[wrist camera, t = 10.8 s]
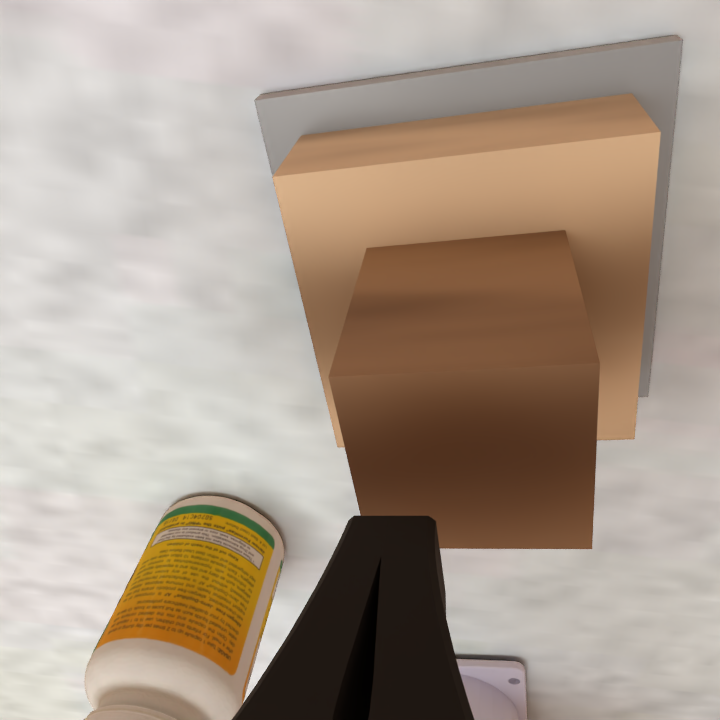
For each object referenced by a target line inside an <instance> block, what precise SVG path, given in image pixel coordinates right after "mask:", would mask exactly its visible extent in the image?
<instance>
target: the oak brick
mask: <svg viewBox="0 0 720 720" xmlns="http://www.w3.org/2000/svg"><path fill="white" fill-rule="evenodd" d="M660 136H661V131H660V130H659V129H658V127H657V126H656V125H655V123H654V122H653V121H652V119H651V118H650V117H649V115H648V114H647V113H646V111H645V110H644V109H643V107H642V106H641V105H640V103H639V102H638V101H637V99H636V98H635V97H634V95H633V94H632V93H629V94H621V95H614V96H606V97H598V98H590V99H582V100H575V101H567V102H559V103H551V104H543V105H535V106H528V107H520V108H512V109H504V110H496V111H489V112H481V113H473V114H465V115H457V116H450V117H442V118H434V119H426V120H418V121H411V122H403V123H395V124H387V125H379V126H371V127H364V128H356V129H348V130H340V131H332V132H325V133H317V134H309V135H301V136H300V138H299V139H298V140H297V142H296V143H295V145H294V146H293V148H292V149H291V151H290V152H289V154H288V155H287V156H286V158H285V159H284V161H283V162H282V164H281V165H280V167H279V168H278V169H277V171H276V172H275V174H274V175H273V181H274V186H275V190H276V194H277V198H278V202H279V206H280V210H281V215H282V219H283V223H284V227H285V231H286V235H287V239H288V244H289V248H290V252H291V256H292V260H293V264H294V268H295V273H296V277H297V281H298V285H299V289H300V293H301V297H302V302H303V306H304V310H305V314H306V318H307V322H308V326H309V330H310V335H311V339H312V343H313V347H314V351H315V355H316V359H317V364H318V368H319V372H320V376H321V380H322V384H323V388H324V393H325V397H326V401H327V405H328V409H329V413H330V417H331V422H332V426H333V430H334V434H335V438H336V442H337V446H338V447H345V446H344V442H343V437H342V433H341V429H340V425H339V420H338V416H337V412H336V408H335V403H334V399H333V395H332V390H331V386H330V382H329V378H328V377H329V373H330V370H331V366H332V363H333V360H334V356H335V353H336V350H337V346H338V343H339V339H340V336H341V333H342V329H343V326H344V323H345V319H346V316H347V313H348V309H349V306H350V302H351V299H352V296H353V292H354V289H355V286H356V282H357V279H358V275H359V272H360V269H361V265H362V262H363V259H364V255H365V252H366V248H372V247H383V246H394V245H405V244H416V243H427V242H438V241H449V240H460V239H471V238H482V237H493V236H504V235H515V234H526V233H537V232H548V231H559V230H565V231H566V235H567V238H568V242H569V246H570V250H571V254H572V257H573V261H574V265H575V269H576V273H577V277H578V280H579V284H580V288H581V292H582V296H583V300H584V303H585V307H586V311H587V315H588V319H589V323H590V326H591V330H592V334H593V338H594V342H595V346H596V349H597V353H598V357H599V361H600V377H599V399H598V422H597V440H623V439H634V437H635V425H636V414H637V402H638V390H639V379H640V367H641V356H642V344H643V333H644V321H645V309H646V298H647V286H648V275H649V263H650V251H651V240H652V228H653V217H654V205H655V194H656V182H657V170H658V159H659V147H660Z"/></svg>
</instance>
